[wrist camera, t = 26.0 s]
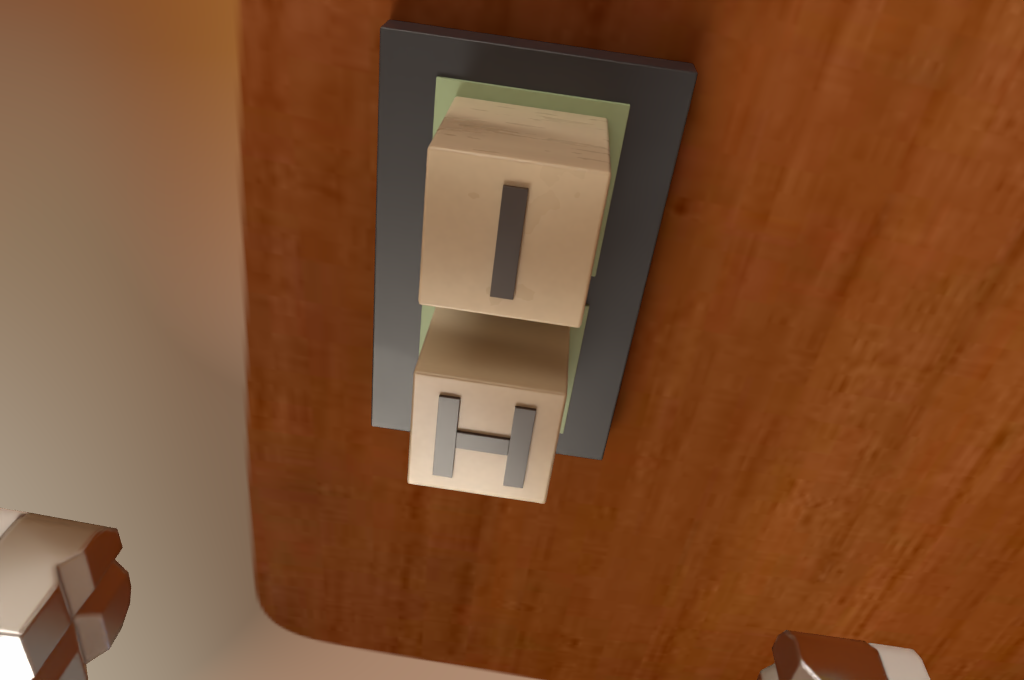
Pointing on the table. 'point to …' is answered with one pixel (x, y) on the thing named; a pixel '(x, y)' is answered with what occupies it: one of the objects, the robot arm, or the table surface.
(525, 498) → the tile
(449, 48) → the dark grey flat block
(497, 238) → the tile
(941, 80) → the table surface
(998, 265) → the table surface
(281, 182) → the table surface
